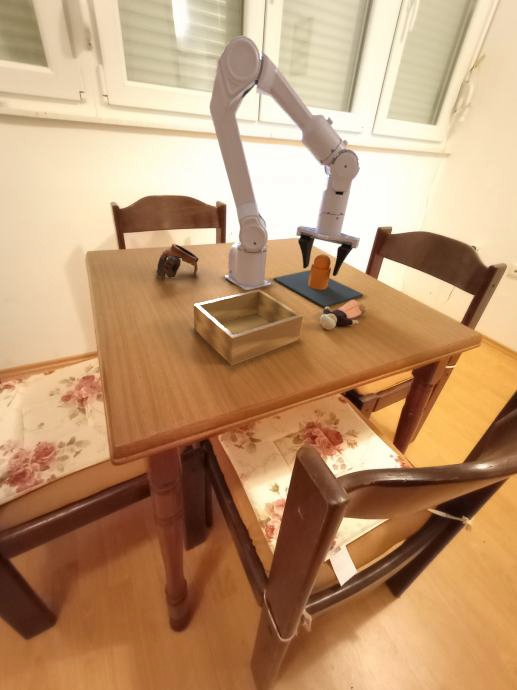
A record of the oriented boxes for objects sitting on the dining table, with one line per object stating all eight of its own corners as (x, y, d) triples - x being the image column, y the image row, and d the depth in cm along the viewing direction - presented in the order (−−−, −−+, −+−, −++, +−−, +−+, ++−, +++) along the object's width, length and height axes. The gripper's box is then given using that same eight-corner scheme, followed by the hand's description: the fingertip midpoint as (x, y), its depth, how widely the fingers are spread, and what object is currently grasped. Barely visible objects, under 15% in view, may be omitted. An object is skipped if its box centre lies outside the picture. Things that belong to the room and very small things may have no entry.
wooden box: (194, 331, 57) (193, 304, 54) (257, 313, 65) (259, 288, 62) (231, 367, 49) (232, 338, 46) (298, 342, 57) (302, 315, 54)
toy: (305, 286, 78) (310, 254, 74) (312, 280, 82) (317, 250, 77) (323, 291, 76) (330, 259, 72) (329, 285, 80) (336, 254, 75)
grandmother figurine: (372, 302, 65) (342, 319, 57) (369, 319, 67) (340, 338, 58) (339, 295, 70) (307, 309, 61) (337, 311, 71) (306, 327, 63)
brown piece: (158, 268, 82) (172, 240, 80) (190, 286, 84) (205, 259, 82) (145, 273, 71) (160, 241, 69) (182, 294, 73) (199, 263, 71)
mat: (273, 279, 81) (273, 278, 81) (311, 271, 89) (311, 269, 88) (323, 308, 70) (324, 306, 69) (362, 295, 77) (363, 294, 77)
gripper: (295, 208, 69) (286, 268, 76) (360, 221, 64) (344, 283, 71) (306, 205, 74) (297, 260, 82) (367, 216, 69) (352, 274, 76)
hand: (320, 270), depth 77 cm, fingers open, 7 cm apart
